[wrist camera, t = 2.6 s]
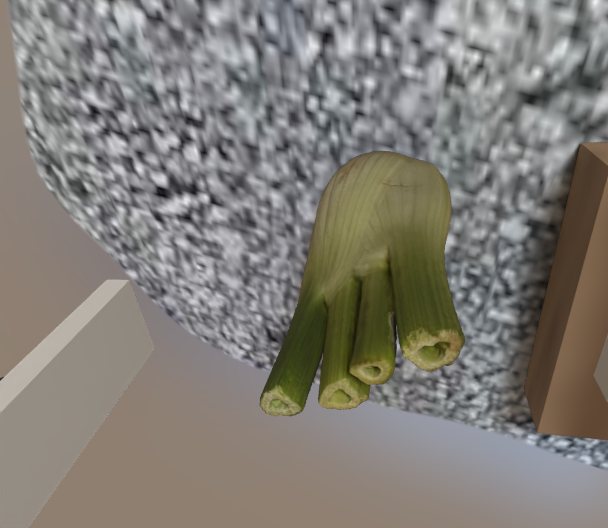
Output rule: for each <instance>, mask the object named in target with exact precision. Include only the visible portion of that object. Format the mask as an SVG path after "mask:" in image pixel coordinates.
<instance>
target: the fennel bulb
mask: <svg viewBox="0 0 608 528" xmlns="http://www.w3.org/2000/svg"><path fill="white" fill-rule="evenodd" d="M451 215H452V206H451V197H450V191H449V189H448V186H447V182H446V180H445V178H444V177H443V175H441V173H440V172H439V170H438V169H437V168H436V167H435V166H434V165H432V164H431V163H428V162H425V161H423V160H419V159H414V158H410V157H407V156H404V155H401V154H398V153H395V152H389V151H372V152H369V153H365V154H362V155H359V156H357V157H355V158H354V159H352V160H350V161H349V162H347V163H346V164H345V165H343V166H342V167H341V168H340V169H338V171H337V172H336V173H335V174H334V175H333V176H332V178H331V179H330V181H329V183H328V184H327V186H326V188H325V190H324V192H323V194H322V197H321V199H320V202H319V206H318V209H317V215H316V220H315V224H314V229H313V233H312V237H311V243H310V247H309V252H308V257H307V262H306V266H305V271H304V275H303V280H302V283H301V291H300V296H299V300H298V304H297V307H296V309H295V313H294V316H293V319H292V322H291V325H290V327H289V330H288V332H287V335H286V338H285V340H284V343H283V345H282V348H281V350H280V352H279V354H278V357H277V359H276V362H275V364H274V366H273V368H272V371H271V373H270V376H269V378H268V380H267V383H266V385H265V387H264V390H263V392H262V394H261V397H260V407H261V408H262V409H263V410H264V411H265V413H266V414H269V415H273V416H278V415H283V416H292V415H296V414H298V413H300V412H302V411H303V409H304V406H305V404H306V400H307V397H308V394H309V391H310V388H311V385H312V382H313V379H314V377H315V375H316V371H317V369H318V366H319V363H320V361H321V359H322V354H323V360H322V366H321V377H320V386H319V397H318V401H319V404H320V405H321V406H322V407H324V408H327V409H338V410H341V409H351V408H356V407H357V406H358V405H359V404H361V403H362V402H364V401H366V400H368V398H369V393H370V385H371V384H372V385H373V384H376V385H378V384H384V383H385V382H386V381H387V380H389V379H390V378H391V376H392V374H393V372H394V369H395V358H396V349H397V345H396V340H397V336H396V334H397V333H396V325H397V331H398V338H399V344H400V348H401V350H402V354H403V356H404V357H405V358H406V359H408V360H410V361H412V362H413V363H414V364H415V365H416V366H418V367H419V368H420V369H423V370H426V371H427V372H428V371H434V370H437V369H439V368H440V367H443V366H444V365H446V366H450V365H452V364H453V361H454V360H455V359H456V358H457V356H459V354H460V350H461V349H462V347H463V345H464V342H465V336H464V334H463V332H462V329H461V326H460V324H459V320H458V316H457V313H456V311H455V308H454V304H453V301H452V295H451V293H450V290H449V284H448V280H447V275H446V270H445V263H444V261H445V255H444V250H445V244H446V240H447V235H448V231H449V227H450V222H451Z"/></svg>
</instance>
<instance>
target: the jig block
mask: <svg viewBox="0 0 608 528" xmlns="http://www.w3.org/2000/svg"><path fill="white" fill-rule="evenodd" d="M607 335H608V142H596V143H581V144H580V148H579V152H578V156H577V161H576V165H575V169H574V174H573V178H572V182H571V187H570V191H569V195H568V200H567V204H566V208H565V213H564V217H563V221H562V226H561V230H560V234H559V239H558V243H557V247H556V252H555V256H554V260H553V264H552V269H551V273H550V277H549V282H548V286H547V290H546V295H545V299H544V303H543V308H542V312H541V316H540V321H539V325H538V329H537V334H536V338H535V342H534V347H533V351H532V355H531V359H530V364H529V368H528V372H527V377H526V381H525V385H524V391H525V394H526V397H527V401H528V404H529V407H530V411H531V414H532V417H533V421H534V424H535V427H536V431H537V433H543V434H553V435H562V436H572V437H582V438H592V439H602V440H608V403H607V401H606V399H605V397H604V395H603V393H602V391H601V389H600V387H599V385H598V383H597V382H596V380H595V378H594V376H593V375H594V373H595V370H596V367H597V364H598V361H599V358H600V355H601V352H602V349H603V346H604V343H605V340H606V338H607Z"/></svg>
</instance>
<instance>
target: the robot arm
mask: <svg viewBox="0 0 608 528" xmlns="http://www.w3.org/2000/svg"><path fill="white" fill-rule="evenodd" d="M154 349H155V348H154V345H153V343H152V340H151V338H150V335H149V332H148V329H147V327H146V324H145V321H144V319H143V316H142V313H141V311H140V308H139V305H138V303H137V300H136V297H135V294H134V292H133V289H132V286H131V284H130V281H129V280H106V281H105V282H104V283H103V284H102V285H101V286H100V287H99V288H98V289H97V290H96V291H95V292H94V293H93V294H91V295H90V296H89V297H88V298H87V299H86V300H85V301H84V302H83V303H82V304H81V305H80V306H79V307H78V308H77V309H76V310H75V311H74V312H73V313H71V314H70V315H69V316H68V317H67V318H66V319H65V320H64V321H63V322H62V323H61V324H60V325H59V326H58V327H57V328H56V329H55V330H54V331H52V332H51V333H50V335H48V336H47V337H46V338H45V339H44V340H43V341H42V342H41V343H40V344H39V345H38V346H37V347H36V348H35V349H34V350H32V351H31V352H30V353H29V354H28V355H27V356H26V357H25V358H24V359H23V360H22V361H21V362H20V363H19V364H18V365H17V366H16V367H15V368H14V369H12V370H11V371H10V372H9V374H7V375H6V376H5V377H2V378H0V528H28V527H29V526H30V525H31V523H32V522H33V520H34V519H35V518H36V516H37V515H38V513H39V512H40V510H41V509H42V508H43V506H44V505H45V503H46V502H47V500H48V499H49V498H50V496H51V495H52V493H53V492H54V491H55V489H56V488H57V486H58V485H59V484H60V482H61V481H62V479H63V478H64V476H65V475H66V474H67V472H68V471H69V469H70V468H71V467H72V465H73V464H74V462H75V461H76V459H77V458H78V457H79V455H80V454H81V452H82V451H83V450H84V448H85V447H86V445H87V444H88V443H89V441H90V440H91V438H92V437H93V435H94V434H95V433H96V431H97V430H98V428H99V427H100V426H101V424H102V423H103V421H104V420H105V418H106V417H107V416H108V414H109V413H110V411H111V410H112V409H113V407H114V406H115V404H116V403H117V401H118V400H119V399H120V397H121V396H122V394H123V393H124V392H125V390H126V389H127V387H128V386H129V384H130V383H131V382H132V380H133V379H134V377H135V376H136V375H137V373H138V372H139V370H140V369H141V368H142V366H143V365H144V363H145V362H146V360H147V359H148V358H149V356H150V355H151V353H152V352H153V351H154ZM593 376H594V378H595V380H596V382H597V383H598V385H599V387H600V389H601V391H602V393H603V395H604V397H605V399H606V401H607V403H608V335H607V338H606V340H605V343H604V346H603V349H602V352H601V355H600V358H599V361H598V364H597V367H596V370H595V373H594V375H593Z"/></svg>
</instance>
